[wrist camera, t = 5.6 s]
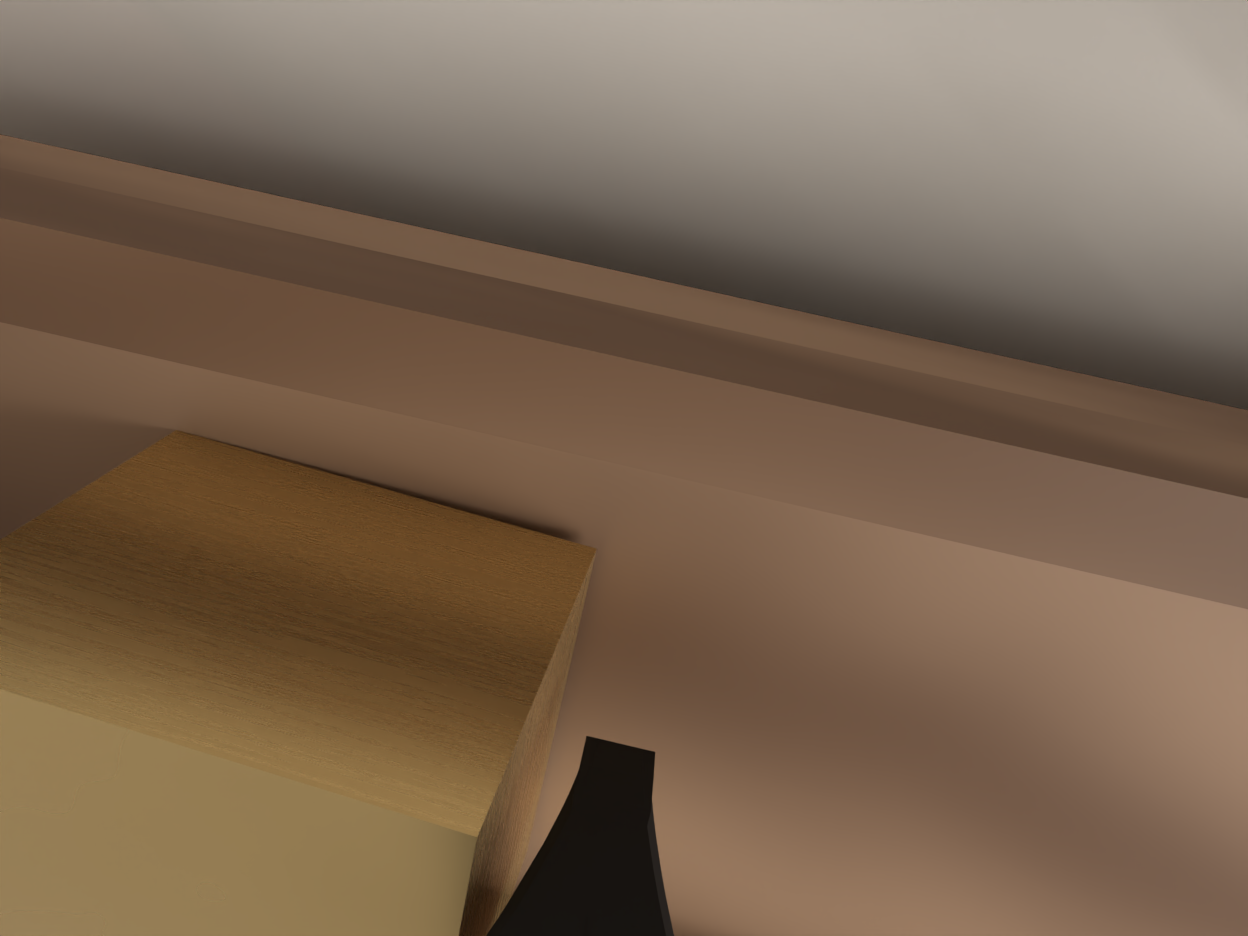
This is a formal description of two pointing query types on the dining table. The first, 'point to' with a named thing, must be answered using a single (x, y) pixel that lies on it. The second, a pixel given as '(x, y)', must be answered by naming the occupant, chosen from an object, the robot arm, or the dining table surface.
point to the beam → (718, 542)
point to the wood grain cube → (272, 703)
